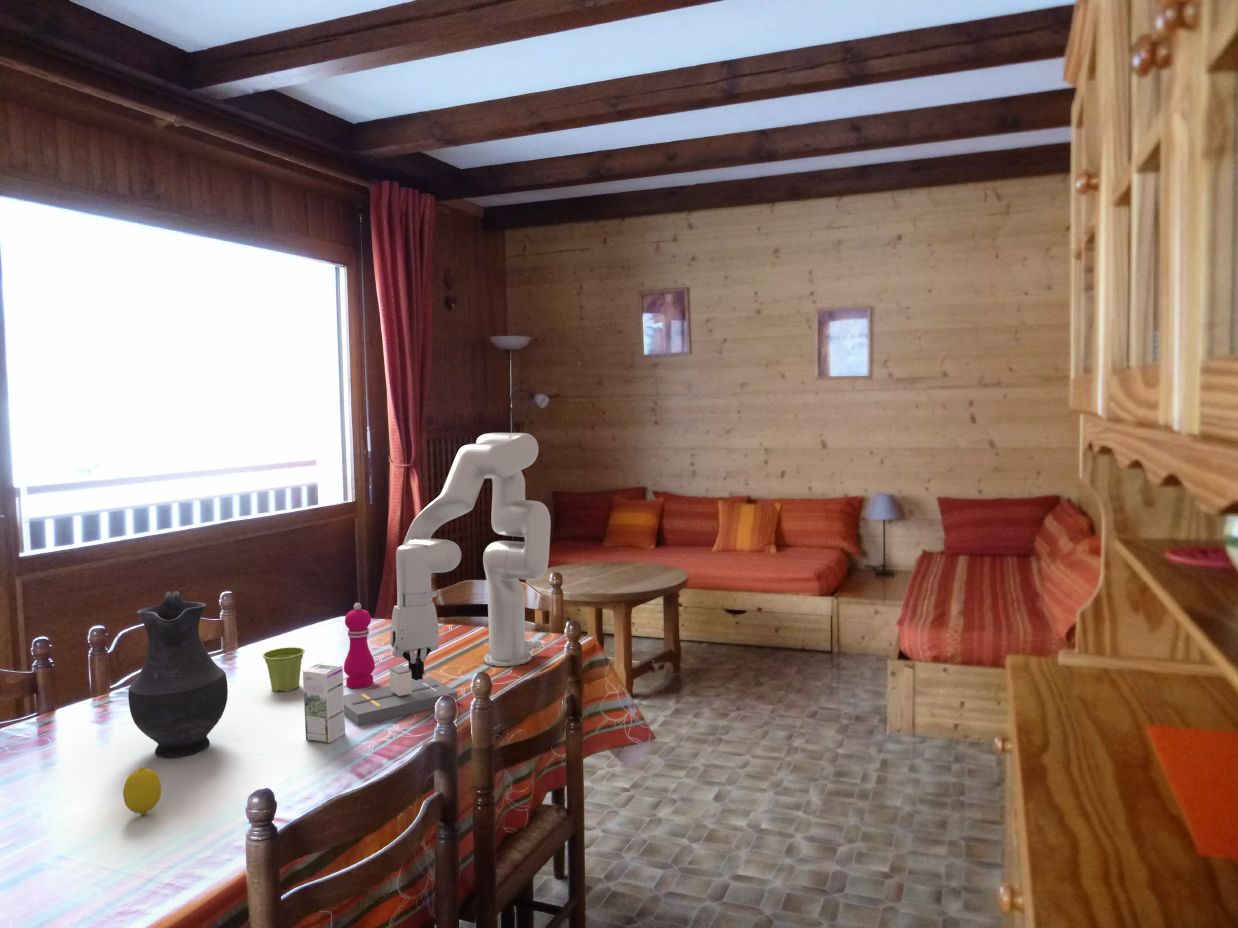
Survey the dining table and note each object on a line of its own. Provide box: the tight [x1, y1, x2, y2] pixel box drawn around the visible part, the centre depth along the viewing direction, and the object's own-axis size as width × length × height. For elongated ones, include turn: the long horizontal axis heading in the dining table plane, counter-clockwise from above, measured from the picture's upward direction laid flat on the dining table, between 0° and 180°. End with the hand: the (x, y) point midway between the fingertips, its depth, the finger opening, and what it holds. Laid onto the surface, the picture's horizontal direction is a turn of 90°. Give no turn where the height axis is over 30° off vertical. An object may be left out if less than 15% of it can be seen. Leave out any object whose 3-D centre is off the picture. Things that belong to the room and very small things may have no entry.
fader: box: [389, 665, 413, 696], centre depth 195 cm, size 3×5×5 cm, turn 37°
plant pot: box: [262, 646, 306, 692], centre depth 208 cm, size 9×9×9 cm
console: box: [344, 676, 459, 727], centre depth 195 cm, size 23×14×3 cm, turn 127°
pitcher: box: [127, 591, 229, 759], centre depth 172 cm, size 17×21×30 cm
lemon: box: [122, 766, 163, 816], centre depth 143 cm, size 6×6×8 cm
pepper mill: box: [343, 602, 376, 689], centre depth 209 cm, size 7×7×20 cm
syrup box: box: [302, 663, 346, 744], centre depth 176 cm, size 6×6×14 cm
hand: (416, 678), depth 197 cm, fingers closed
